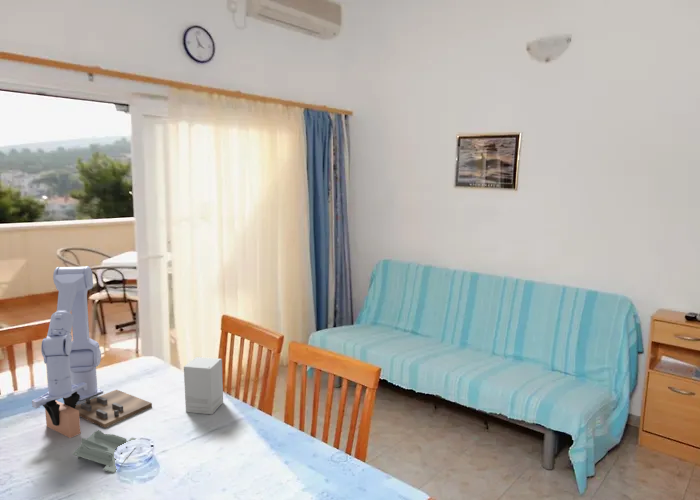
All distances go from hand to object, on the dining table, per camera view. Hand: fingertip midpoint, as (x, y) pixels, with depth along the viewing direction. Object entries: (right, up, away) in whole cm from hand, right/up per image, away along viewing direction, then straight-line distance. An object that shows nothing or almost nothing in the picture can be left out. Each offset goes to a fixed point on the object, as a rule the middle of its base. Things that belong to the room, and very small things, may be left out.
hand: (62, 421), depth 146 cm
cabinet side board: (+8, 0, +13) cm, 15 cm away
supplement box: (+36, -1, +16) cm, 40 cm away
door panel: (0, -3, 0) cm, 3 cm away
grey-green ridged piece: (+18, -5, -12) cm, 22 cm away
